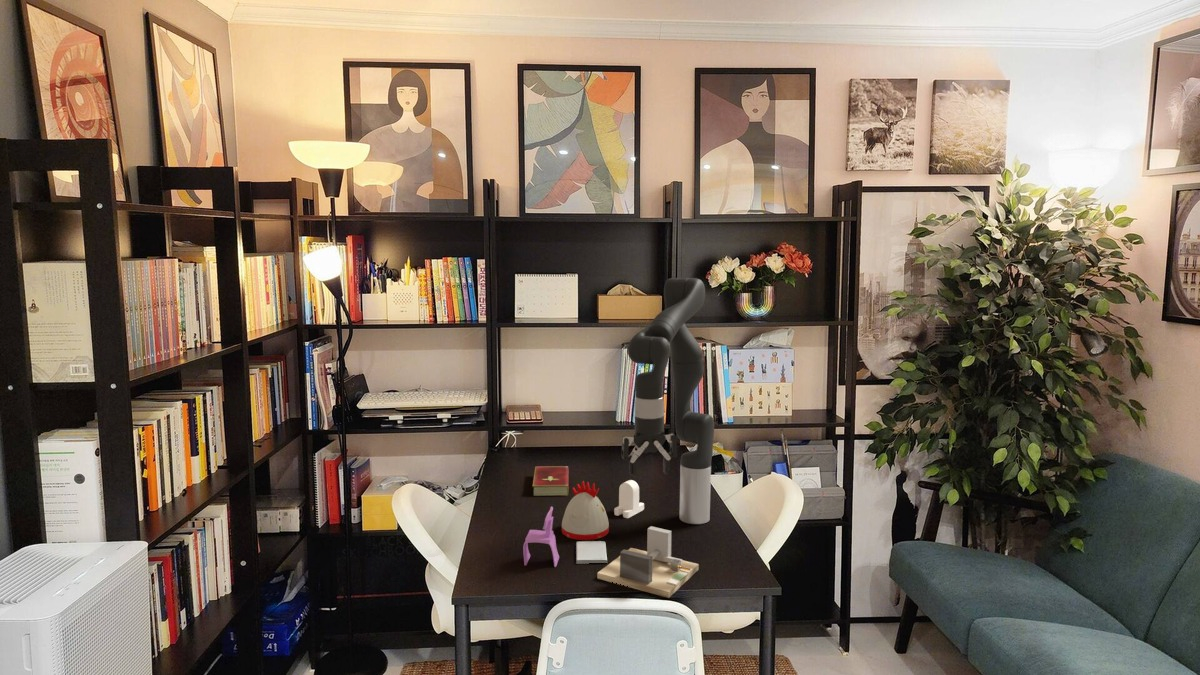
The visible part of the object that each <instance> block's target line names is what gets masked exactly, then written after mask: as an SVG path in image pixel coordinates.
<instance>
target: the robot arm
mask: <svg viewBox="0 0 1200 675" xmlns="http://www.w3.org/2000/svg"><path fill="white" fill-rule="evenodd" d="M705 299H706V288H705V284H704V282H703V281H702V279H699V278H695V277H671V278H668V279H666V280H665V283H664V287H663V300H664V307H665V308H664V309H663V310H661V311H660V312H659V313H658V314H657V315H656V316H655V317H654V319H652V322H650V324H649V325H648V326H646V327H645V328H643V329H642V330H640V331H639V332H638V333H636V334H635V335H634V336H633V337H632V338H631V340H630V342H629V343H628V347H627V353H628V357H629V358H630V360H631V361H632V362H633V363H636V364H641V365H642V364H643V365H653V369H652V370H651V371H645V372H644V371H643V372H641V373H639V374H637V375H636V377H635V400H634V435H633V436H626V435H624V436H622V438H621V439H622V440H621V441H622V442H621V456H620V457H621V458H622V460H623V461H624V462H628V472H629V474H630V475H631V476H632V477H636V476H637V473H636V471H637V470H636V468H637V467H636V466H637V464H636V460H638V458H639V457H640V456H641V455H642V454H649V453H655V454H656V453H657V452H658V451H659V453H660V454H661V455H662V456H663V458H662V472H663V474H664V475H668V474H669V472H670V470H671V460H672V459H673V458H678V444H677V443H678V442H677V439H678V440H680V441H682V442H686V443H691V444H696V445H697V446H696V450H691V451H687V452H684V453H682V454H681V456H680V468H679V470H680V471H679V473H680V474H679V475H680V476H679V477H680V478H679V520H680V521H682V522H683V523H686V524H691V525H702V524H706V523H708V522H709V521H710V517H711V515H710V514H711V513H710V512H711V483H712V482H711V480H712V478H711V476H712V458H713V450H714V438H715V421H714V418H713V416H712V415H711V414H708V413H700V412H694V411H692V410H691V399H692V396H693V394H694V393H695V391H696V389H697V387H698V386H699V384H700V382H701V380H702V379H703V377H704V375H705V374H704V373H705V364H704V352H703V350H702V347H701V345H700V344H699V342H698V341H697V339H696V337H694V335H693V334H692V333H691V331H690V330H689V329H688V326H687V325H686V323H687V321H689V320H690V318H692V317H693V316H694V315H695V314H696V313H697V312H699V310H700V309H701V308H702V307H703V304H704V302H705ZM670 356H671V366H672V374H673V384H674V400H675V401H674V403H675V404H674V407H675V408H674V409H675V410H674V411H675V412H674V415H675V416H674V417H675V418H674V420H675V421H674V424H675V425H674V426H675V433H676V434H674V432H669V434H665V413H666V412H665V401H664V378H665V373H666V369H667V365H668V363H669V359H670ZM666 440H667V442H668V444H669V452H667V450H666V449H664V447H663V445H664V444H665V442H666ZM632 443H634V444H635V446H634V448H633V449H632V451H631V452H630V454H629V447H630V446H631V445H632Z"/></svg>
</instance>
